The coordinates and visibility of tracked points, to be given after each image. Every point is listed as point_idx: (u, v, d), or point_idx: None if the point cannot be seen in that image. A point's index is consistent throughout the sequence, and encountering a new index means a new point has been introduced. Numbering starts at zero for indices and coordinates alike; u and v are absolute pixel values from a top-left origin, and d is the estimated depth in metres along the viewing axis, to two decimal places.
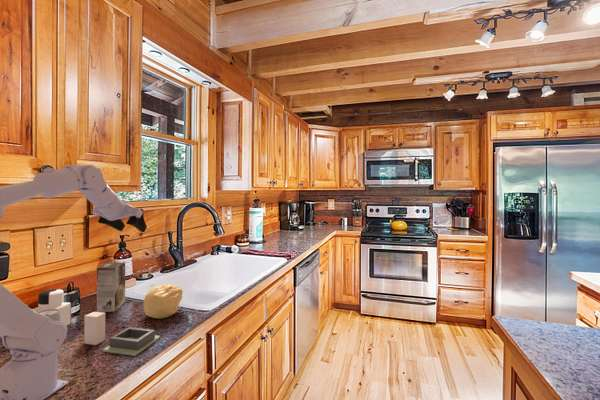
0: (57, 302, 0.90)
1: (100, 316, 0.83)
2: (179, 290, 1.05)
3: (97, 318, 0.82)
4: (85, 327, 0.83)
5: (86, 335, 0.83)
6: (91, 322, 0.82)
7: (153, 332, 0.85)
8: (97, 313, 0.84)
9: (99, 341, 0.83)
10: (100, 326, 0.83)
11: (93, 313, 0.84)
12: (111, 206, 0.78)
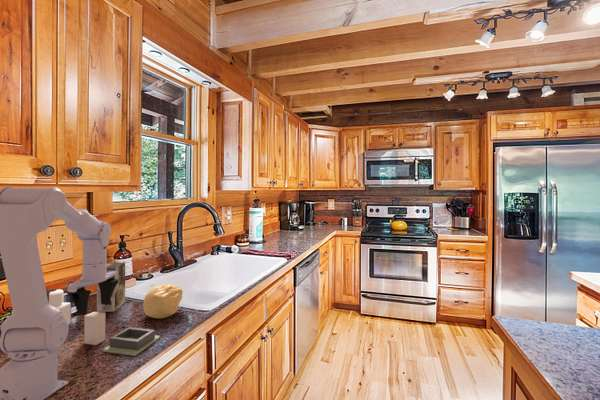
0: (57, 302, 0.90)
1: (100, 316, 0.83)
2: (179, 290, 1.05)
3: (97, 318, 0.82)
4: (85, 327, 0.83)
5: (86, 335, 0.83)
6: (91, 322, 0.82)
7: (153, 332, 0.85)
8: (97, 313, 0.84)
9: (99, 341, 0.83)
10: (100, 326, 0.83)
11: (93, 313, 0.84)
12: None
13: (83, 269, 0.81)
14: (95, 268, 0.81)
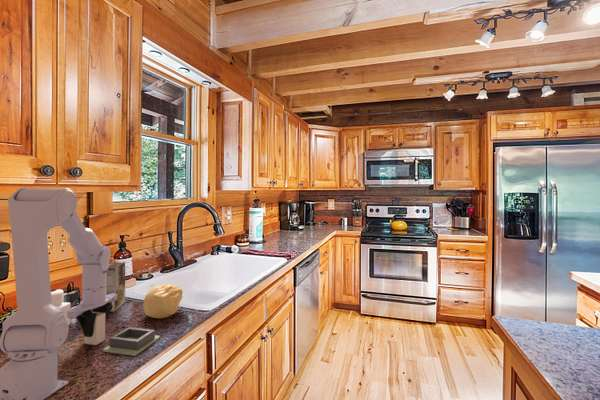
0: (57, 302, 0.90)
1: (100, 316, 0.83)
2: (179, 290, 1.05)
3: (97, 318, 0.82)
4: None
5: None
6: None
7: (153, 332, 0.85)
8: (97, 313, 0.84)
9: (99, 341, 0.83)
10: (100, 326, 0.83)
11: None
12: None
13: (83, 294, 0.81)
14: (95, 293, 0.82)
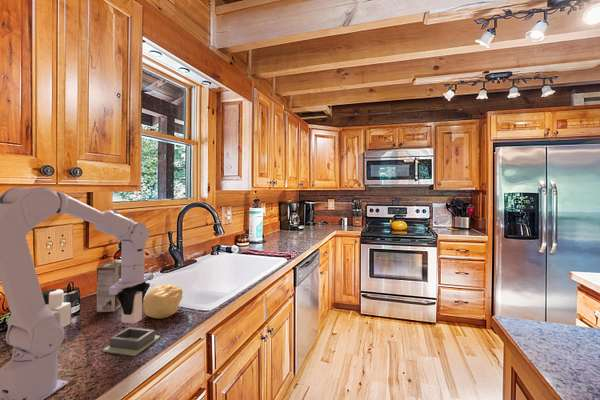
0: (57, 302, 0.90)
1: (137, 294, 0.82)
2: (179, 290, 1.05)
3: (135, 296, 0.81)
4: None
5: (123, 314, 0.81)
6: None
7: (153, 332, 0.85)
8: None
9: (136, 320, 0.82)
10: (137, 305, 0.82)
11: None
12: None
13: (123, 271, 0.80)
14: (134, 270, 0.80)
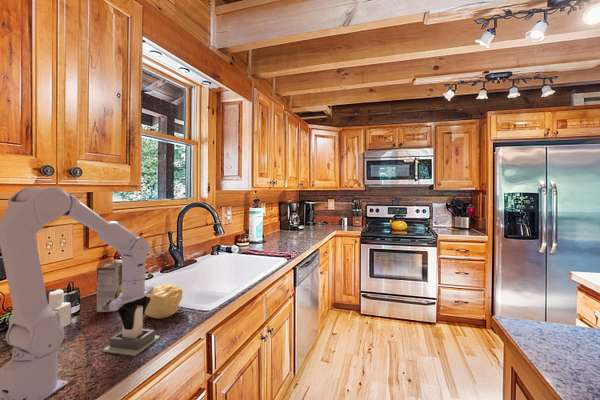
0: (57, 302, 0.90)
1: (138, 309, 0.82)
2: (179, 290, 1.05)
3: (135, 311, 0.81)
4: None
5: None
6: None
7: (153, 332, 0.85)
8: None
9: (137, 334, 0.82)
10: (138, 319, 0.82)
11: None
12: None
13: (123, 286, 0.80)
14: (135, 285, 0.80)
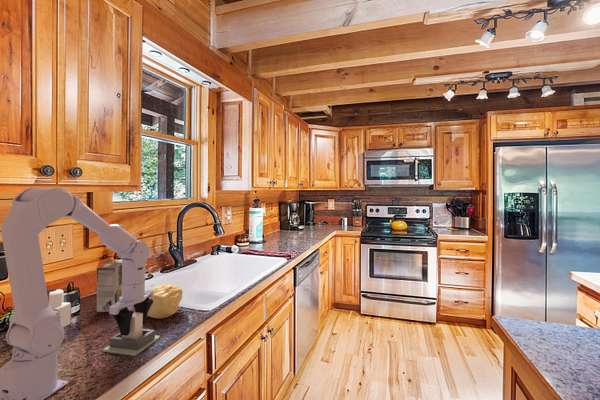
0: (57, 302, 0.90)
1: (138, 316, 0.82)
2: (179, 290, 1.05)
3: (135, 318, 0.81)
4: None
5: (124, 335, 0.81)
6: None
7: (153, 332, 0.85)
8: (134, 313, 0.83)
9: None
10: (138, 326, 0.82)
11: None
12: None
13: (123, 290, 0.80)
14: (135, 289, 0.80)
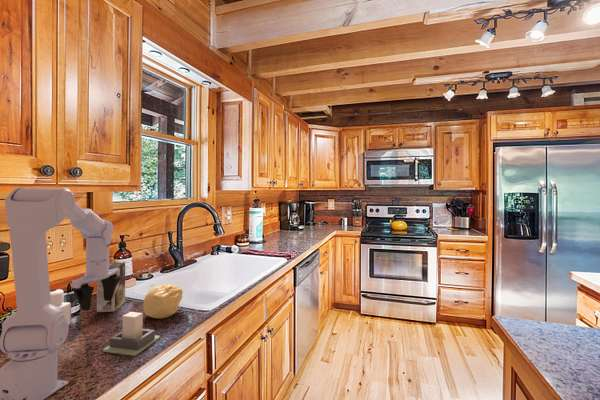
0: (57, 302, 0.90)
1: (138, 316, 0.82)
2: (179, 290, 1.05)
3: (135, 318, 0.81)
4: (123, 327, 0.82)
5: (124, 335, 0.81)
6: (129, 323, 0.81)
7: (153, 332, 0.85)
8: (134, 313, 0.83)
9: None
10: (138, 326, 0.82)
11: (130, 313, 0.83)
12: None
13: (87, 266, 0.84)
14: (98, 265, 0.85)
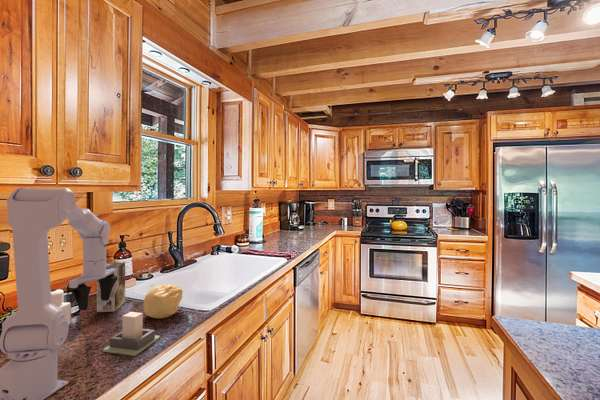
0: (57, 302, 0.90)
1: (138, 316, 0.82)
2: (179, 290, 1.05)
3: (135, 318, 0.81)
4: (123, 327, 0.82)
5: (124, 335, 0.81)
6: (129, 323, 0.81)
7: (153, 332, 0.85)
8: (134, 313, 0.83)
9: None
10: (138, 326, 0.82)
11: (130, 313, 0.83)
12: None
13: (84, 266, 0.85)
14: (95, 265, 0.85)
